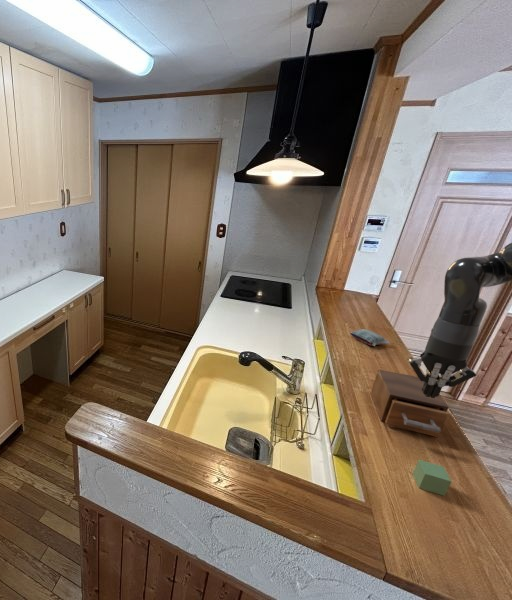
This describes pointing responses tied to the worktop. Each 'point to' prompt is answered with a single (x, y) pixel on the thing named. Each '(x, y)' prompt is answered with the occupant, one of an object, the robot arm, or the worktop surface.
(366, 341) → the packaged food
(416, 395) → the cabinet
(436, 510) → the worktop surface
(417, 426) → the drawer
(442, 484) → the block
